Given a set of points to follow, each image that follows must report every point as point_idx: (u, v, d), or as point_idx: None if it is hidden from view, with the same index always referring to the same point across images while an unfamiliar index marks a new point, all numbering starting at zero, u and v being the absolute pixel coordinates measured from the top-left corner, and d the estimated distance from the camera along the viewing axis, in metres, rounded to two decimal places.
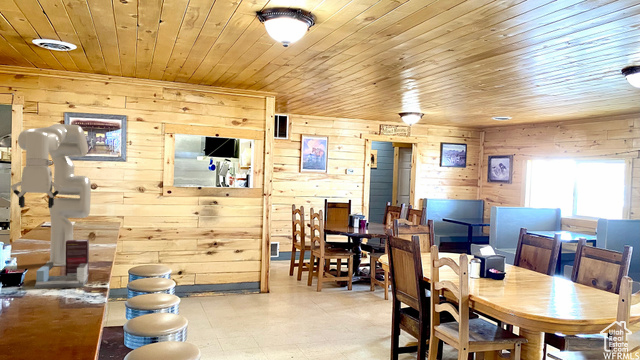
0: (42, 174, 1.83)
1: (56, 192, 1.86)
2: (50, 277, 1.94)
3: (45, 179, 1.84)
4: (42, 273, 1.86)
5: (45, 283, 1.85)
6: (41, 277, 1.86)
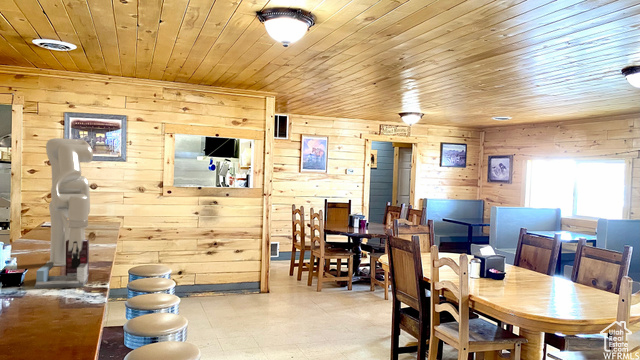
0: None
1: None
2: (50, 277, 1.94)
3: None
4: (42, 273, 1.86)
5: (45, 283, 1.85)
6: (41, 277, 1.86)
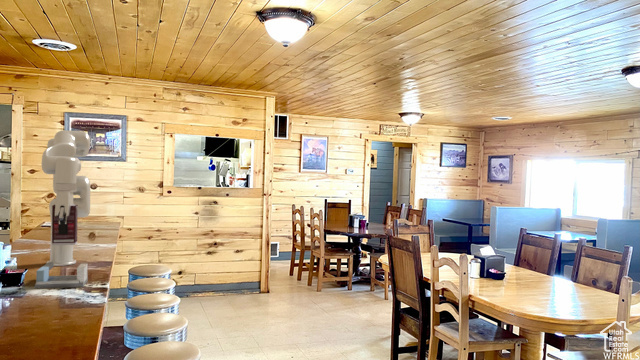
0: None
1: None
2: (50, 277, 1.94)
3: None
4: (42, 273, 1.86)
5: (45, 283, 1.85)
6: (41, 277, 1.86)
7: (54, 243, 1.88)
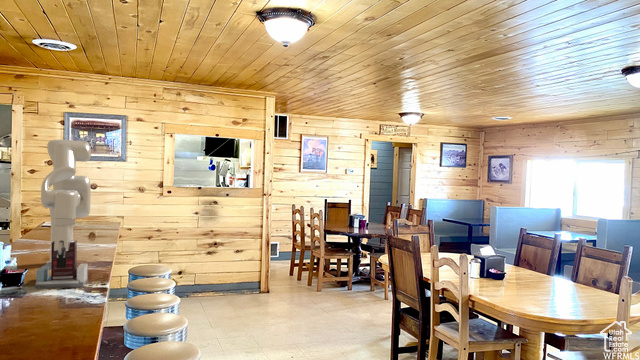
0: (72, 231, 1.94)
1: None
2: (50, 277, 1.94)
3: (72, 235, 1.95)
4: (42, 273, 1.86)
5: (45, 283, 1.85)
6: (41, 277, 1.86)
7: (53, 280, 1.89)
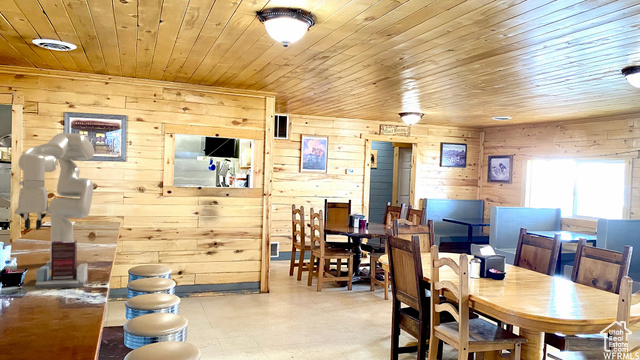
0: None
1: None
2: (50, 277, 1.94)
3: None
4: (42, 273, 1.86)
5: (45, 283, 1.85)
6: (41, 277, 1.86)
7: (53, 280, 1.89)
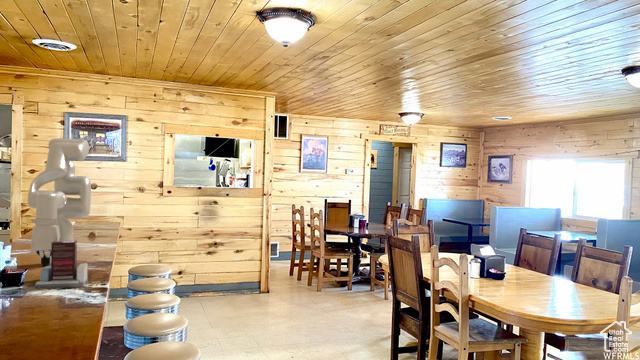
0: None
1: None
2: None
3: None
4: (46, 273, 1.86)
5: (45, 283, 1.85)
6: (45, 277, 1.86)
7: (53, 280, 1.89)
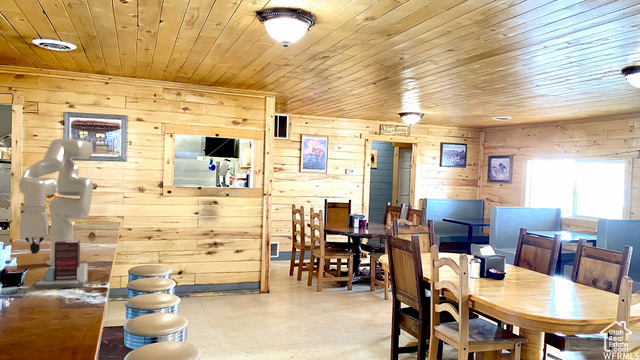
0: None
1: None
2: None
3: None
4: (51, 273, 1.87)
5: (45, 283, 1.85)
6: (50, 277, 1.86)
7: (56, 280, 1.89)
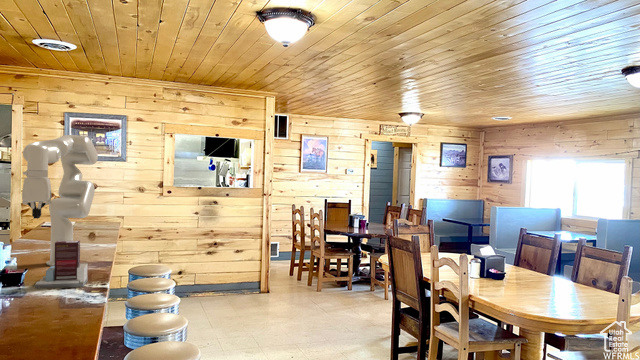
0: None
1: None
2: None
3: None
4: (51, 273, 1.87)
5: (45, 283, 1.85)
6: (50, 277, 1.86)
7: (56, 280, 1.89)
